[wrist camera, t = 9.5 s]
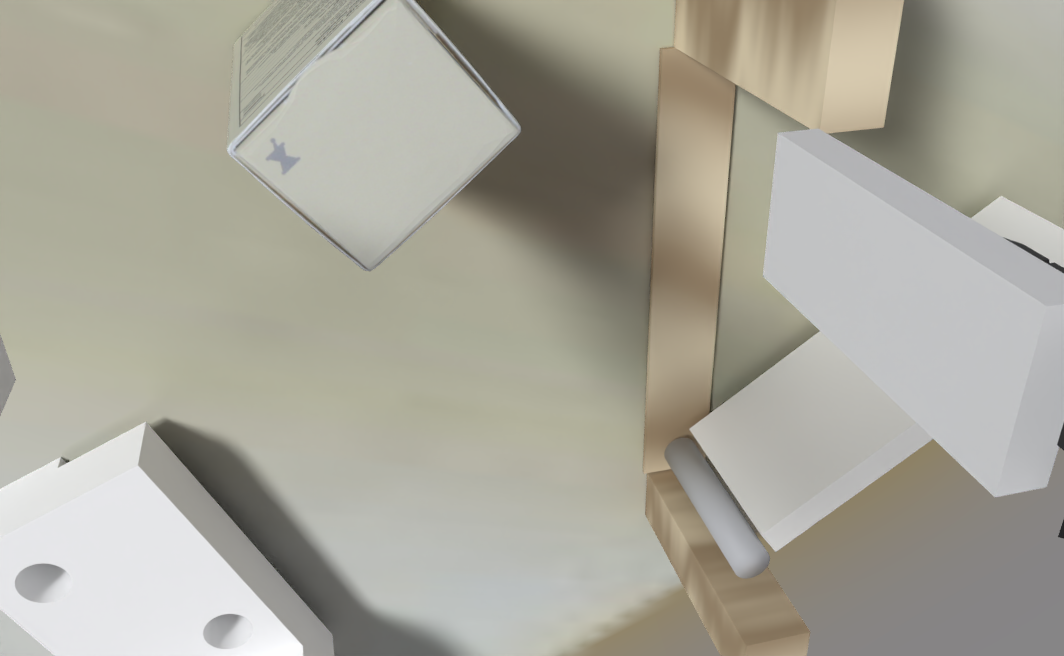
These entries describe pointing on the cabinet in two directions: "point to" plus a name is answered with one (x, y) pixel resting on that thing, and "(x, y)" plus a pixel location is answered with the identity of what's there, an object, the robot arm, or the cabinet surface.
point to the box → (360, 118)
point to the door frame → (697, 240)
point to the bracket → (141, 563)
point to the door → (810, 432)
